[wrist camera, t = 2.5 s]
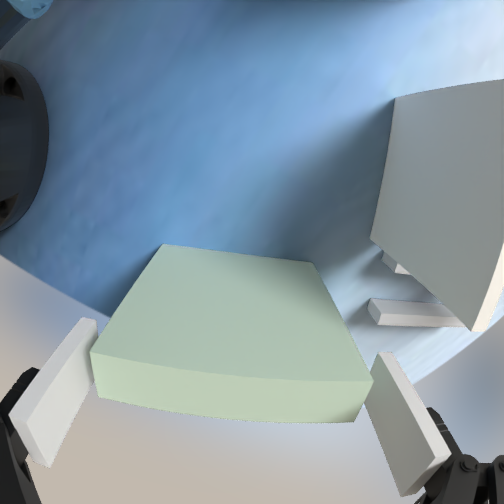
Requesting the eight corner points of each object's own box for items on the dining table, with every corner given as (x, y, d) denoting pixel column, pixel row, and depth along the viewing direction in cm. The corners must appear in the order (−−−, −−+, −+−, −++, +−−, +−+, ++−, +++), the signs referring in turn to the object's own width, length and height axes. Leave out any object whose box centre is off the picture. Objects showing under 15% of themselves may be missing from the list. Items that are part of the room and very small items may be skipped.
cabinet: (350, 307, 25) (417, 427, 13) (395, 97, 20) (526, 77, 7) (465, 314, 26) (544, 395, 14) (510, 146, 21) (621, 170, 8)
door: (160, 286, 24) (101, 411, 12) (162, 243, 23) (89, 351, 11) (303, 303, 25) (347, 434, 12) (312, 262, 24) (373, 381, 11)
